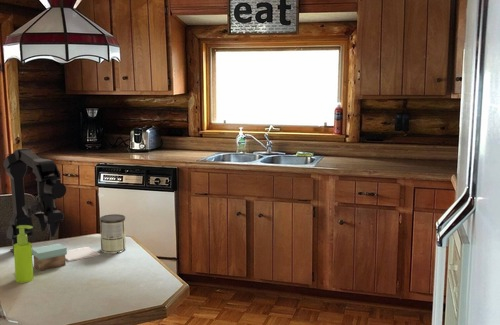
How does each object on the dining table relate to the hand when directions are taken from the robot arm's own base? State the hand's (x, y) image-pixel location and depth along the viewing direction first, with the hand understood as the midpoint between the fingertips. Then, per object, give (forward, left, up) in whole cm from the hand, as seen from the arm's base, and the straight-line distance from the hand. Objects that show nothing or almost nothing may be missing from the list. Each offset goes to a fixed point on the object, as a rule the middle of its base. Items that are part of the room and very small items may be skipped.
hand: (47, 233), depth 211 cm
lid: (0, 0, -8) cm, 8 cm away
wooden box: (0, 0, -13) cm, 13 cm away
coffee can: (-3, +28, -13) cm, 31 cm away
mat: (-6, +14, -13) cm, 20 cm away
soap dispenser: (+9, -12, -13) cm, 20 cm away
